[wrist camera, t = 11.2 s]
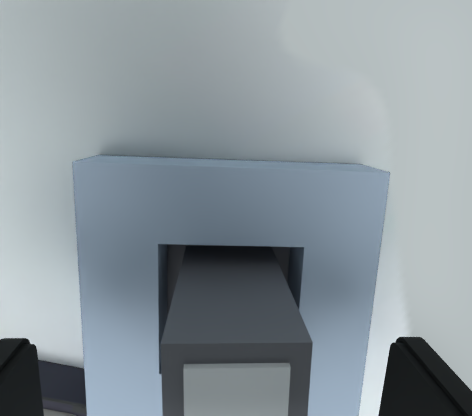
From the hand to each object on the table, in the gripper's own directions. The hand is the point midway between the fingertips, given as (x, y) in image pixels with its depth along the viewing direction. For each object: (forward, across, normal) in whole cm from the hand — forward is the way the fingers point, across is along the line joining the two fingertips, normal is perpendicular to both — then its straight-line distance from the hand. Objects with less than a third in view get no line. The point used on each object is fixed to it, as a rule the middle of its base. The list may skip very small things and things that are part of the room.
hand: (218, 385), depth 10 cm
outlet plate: (+8, -1, +1) cm, 9 cm away
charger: (+8, -1, +1) cm, 8 cm away
